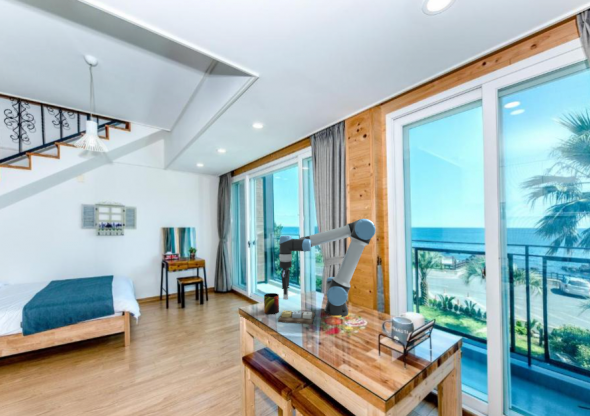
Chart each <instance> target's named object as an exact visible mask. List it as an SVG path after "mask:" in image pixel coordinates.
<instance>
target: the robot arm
mask: <svg viewBox="0 0 590 416" xmlns="http://www.w3.org/2000/svg"><path fill="white" fill-rule="evenodd" d="M376 230H377V229H376V226H375V224H374V222H373V221H372V220H370V219H367V218H358V219H357V220H355V221H352V222H349V223H347V224H346V225H344V226H339V227H336V228H333V229H332V228H331V229H329V230H326V231H321V232H317V233H314V234H310V235H307V236H302V237H299V238H296V239H295V238H292V236H291V235H281V236H280V237H279V254H278V257H279V267H280V268H281V269H282V270H281V285H282V288H281V289H282V290H283V293H282V294H283V296H282V297H283V300H285V301H287V300H289V289H290V273H291V270H290V268H292V267H293V265H292V263H293V262H292V260H293V258H292V257H293V252H304V253H305V252H310V251H312V250H311V249H312V247H316V246H320V245H324V244H329V243H332V242H335V241H339V240H344V239H346V238H350V242H349V245H348V247H347V249H346V252H345V255H344V257H343V260H342V261H341V264H340V267H339V269H338V270H337V273H336V276H330V277H327V278H326V304H325V307H324V313H326V314H327V315H329V316H341V317H342V318H343V316H344V317H346V316H348V315H349V309H348V305H347V303H346V302H347V300H348V294H349V292H350V290H351V286H352V285H351V280H352V278H353V275H354V273H355V270H356V268H357V266H358V264H359V261H360V258H361V257H362V254H363V251H364V249H365V247H366V246H369V244H370V241H371V240H372V238H373V237H374V236H375V233H376Z"/></svg>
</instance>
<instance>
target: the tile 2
mask: <svg viewBox="0 0 590 416" xmlns="http://www.w3.org/2000/svg"><path fill="white" fill-rule="evenodd" d="M303 312H304V313H303V318H305V319H312V313H313V311H303Z"/></svg>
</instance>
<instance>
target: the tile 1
mask: <svg viewBox="0 0 590 416" xmlns="http://www.w3.org/2000/svg"><path fill="white" fill-rule="evenodd" d="M292 312H293V311H292V310H286V309H285V310H284V309H283V311H282V313H281V315H282V317H289V318H290V317H291V315H292Z"/></svg>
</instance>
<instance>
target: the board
mask: <svg viewBox="0 0 590 416" xmlns="http://www.w3.org/2000/svg"><path fill="white" fill-rule="evenodd" d="M292 313H293V311H292ZM303 313H304V311H302V317H301V318H292V315H291V317H290V318H289V317H282V314H281V315H280V316H279V318H278V319H277V322H278V323H287V324H288V323H291V324H301V325H302V324H304V325H305V324H306V325H312V324H313V321H314V319H315V317H316V313H315V312H312V319H305V318H303Z"/></svg>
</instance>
